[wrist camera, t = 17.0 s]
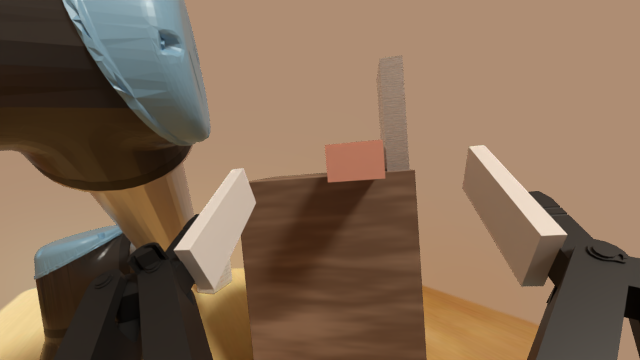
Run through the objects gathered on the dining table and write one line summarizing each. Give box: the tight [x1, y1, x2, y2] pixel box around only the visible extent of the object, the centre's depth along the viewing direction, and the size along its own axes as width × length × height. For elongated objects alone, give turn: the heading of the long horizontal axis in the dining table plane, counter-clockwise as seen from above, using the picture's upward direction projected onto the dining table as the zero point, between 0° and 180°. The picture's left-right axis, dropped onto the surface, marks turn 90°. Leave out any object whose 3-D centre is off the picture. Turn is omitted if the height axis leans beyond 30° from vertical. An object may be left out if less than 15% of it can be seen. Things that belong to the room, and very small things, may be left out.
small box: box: [197, 258, 232, 294], centre depth 73 cm, size 8×6×10 cm
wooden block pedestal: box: [241, 169, 427, 360], centre depth 38 cm, size 14×21×30 cm, turn 80°
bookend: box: [377, 56, 409, 172], centre depth 34 cm, size 8×2×13 cm, turn 170°
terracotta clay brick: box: [325, 139, 385, 183], centre depth 31 cm, size 22×4×3 cm, turn 170°
